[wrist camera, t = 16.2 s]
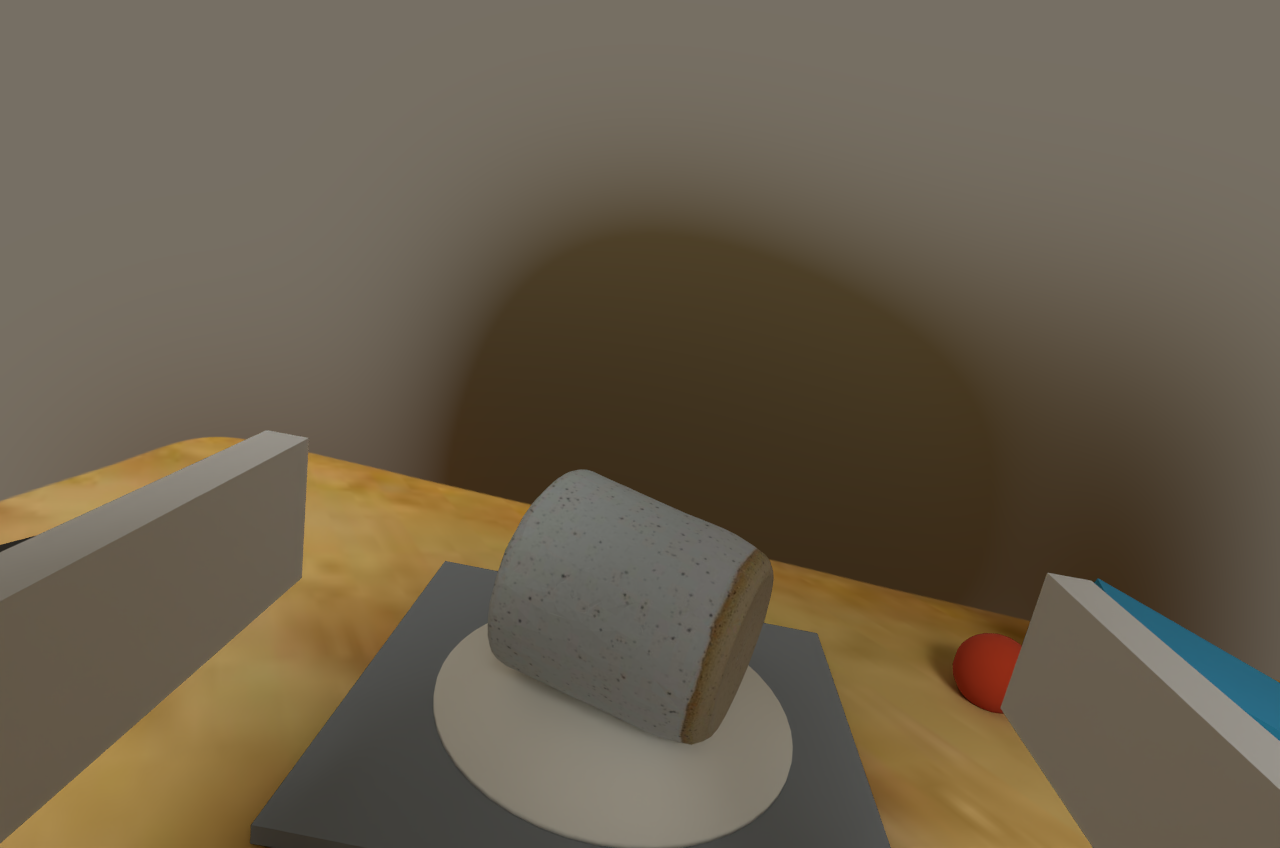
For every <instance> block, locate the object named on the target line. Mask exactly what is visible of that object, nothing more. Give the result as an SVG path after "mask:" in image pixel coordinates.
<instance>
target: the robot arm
mask: <svg viewBox="0 0 1280 848" xmlns="http://www.w3.org/2000/svg"><path fill="white" fill-rule="evenodd" d="M308 443H309V438H306V437H300V436H295V435H289V434H284V433H278V432H273V431H267V430H266V431H264V432H262V433H260V434H258V435H255V436H253V437H251V438H249V439H247V440H244V441H242V442H240V443H238V444H236V445H234V446H231V447H229V448H227V449H225V450H223V451H220V452H218V453H216V454H214V455H212V456H209V457H207V458H205V459H203V460H201V461H199V462H196V463H194V464H192V465H190V466H188V467H185V468H183V469H181V470H179V471H177V472H175V473H172V474H170V475H168V476H166V477H164V478H161V479H159V480H157V481H155V482H153V483H150V484H148V485H146V486H144V487H142V488H140V489H137V490H135V491H133V492H131V493H129V494H126V495H124V496H122V497H120V498H118V499H116V500H113V501H111V502H109V503H107V504H105V505H102V506H100V507H98V508H96V509H94V510H91V511H89V512H87V513H85V514H83V515H81V516H78V517H76V518H74V519H72V520H70V521H67V522H65V523H63V524H61V525H59V526H57V527H54V528H52V529H50V530H48V531H46V532H43V533H41V534H39V535H37V536H33V537H29V538H26V539H22V540H18V541H14V542H10V543H6V544H2V545H0V843H1V842H2V841H4V840H5V839H6V838H7V837H8V836H9V835H10V834H12V833H13V832H14V831H15V830H16V829H17V828H18V827H19V826H21V825H22V824H23V823H24V822H25V821H26V820H27V819H29V818H30V817H31V816H32V815H33V814H34V813H35V812H36V811H38V810H39V809H40V808H41V807H42V806H43V805H44V804H46V803H47V802H48V801H49V800H50V799H51V798H52V797H54V796H55V795H56V794H57V793H58V792H59V791H60V790H61V789H63V788H64V787H65V786H66V785H67V784H68V783H69V782H71V781H72V780H73V779H74V778H75V777H76V776H77V775H78V774H80V773H81V772H82V771H83V770H84V769H85V768H86V767H88V766H89V765H90V764H91V763H92V762H93V761H94V760H96V759H97V758H98V757H99V756H100V755H101V754H102V753H103V752H105V751H106V750H107V749H108V748H109V747H110V746H111V745H113V744H114V743H115V742H116V741H117V740H118V739H119V738H120V737H122V736H123V735H124V734H125V733H126V732H127V731H128V730H130V729H131V728H132V727H133V726H134V725H135V724H136V723H138V722H139V721H140V720H141V719H142V718H143V717H144V716H145V715H147V714H148V713H149V712H150V711H151V710H152V709H153V708H155V707H156V706H157V705H158V704H159V703H160V702H161V701H162V700H164V699H165V698H166V697H167V696H168V695H169V694H170V693H172V692H173V691H174V690H175V689H176V688H177V687H178V686H180V685H181V684H182V683H183V682H184V681H185V680H186V679H187V678H189V677H190V676H191V675H192V674H193V673H194V672H195V671H197V670H198V669H199V668H200V667H201V666H202V665H203V664H204V663H206V662H207V661H208V660H209V659H210V658H211V657H212V656H214V655H215V654H216V653H217V652H218V651H219V650H220V649H222V648H223V647H224V646H225V645H226V644H227V643H228V642H229V641H231V640H232V639H233V638H234V637H235V636H236V635H237V634H239V633H240V632H241V631H242V630H243V629H244V628H245V627H246V626H248V625H249V624H250V623H251V622H252V621H253V620H254V619H256V618H257V617H258V616H259V615H260V614H261V613H262V612H263V611H265V610H266V609H267V608H268V607H269V606H270V605H271V604H273V603H274V602H275V601H276V600H277V599H278V598H279V597H281V596H282V595H283V594H284V593H285V592H286V591H287V590H288V589H290V588H291V587H292V586H293V585H294V584H295V583H296V582H298V581H299V580H300V579H301V578H302V561H303V541H304V522H305V502H306V483H307V463H308ZM1001 710H1002V711H1003V713H1004V714H1005V716H1006V717H1007V719H1008V720H1009V722H1010V723H1011V725H1012V726H1013V728H1014V729H1015V731H1016V732H1017V734H1018V735H1019V737H1020V738H1021V740H1022V741H1023V743H1024V744H1025V746H1026V747H1027V749H1028V750H1029V752H1030V753H1031V755H1032V756H1033V758H1034V760H1035V761H1036V763H1037V764H1038V766H1039V767H1040V769H1041V770H1042V772H1043V773H1044V775H1045V776H1046V778H1047V779H1048V781H1049V782H1050V784H1051V785H1052V787H1053V788H1054V790H1055V791H1056V793H1057V794H1058V796H1059V797H1060V799H1061V800H1062V802H1063V803H1064V805H1065V806H1066V808H1067V809H1068V811H1069V812H1070V814H1071V815H1072V817H1073V818H1074V820H1075V821H1076V823H1077V824H1078V826H1079V827H1080V829H1081V830H1082V832H1083V833H1084V835H1085V836H1086V838H1087V839H1088V841H1089V842H1090V844H1091V845H1092V847H1093V848H1280V741H1279V740H1278V739H1277V738H1275V737H1274V736H1273V735H1272V734H1271V733H1270V732H1268V731H1267V730H1266V729H1265V728H1264V727H1263V726H1261V725H1260V724H1259V723H1258V722H1257V721H1256V720H1254V719H1253V718H1252V717H1251V716H1250V715H1248V714H1247V713H1246V712H1245V711H1244V710H1243V709H1241V708H1240V707H1239V706H1238V705H1237V704H1236V703H1234V702H1233V701H1232V700H1231V699H1230V698H1229V697H1227V696H1226V695H1225V694H1224V693H1223V692H1221V691H1220V690H1219V689H1218V688H1217V687H1216V686H1214V685H1213V684H1212V683H1211V682H1210V681H1209V680H1207V679H1206V678H1205V677H1204V676H1203V675H1201V674H1200V673H1199V672H1198V671H1197V670H1196V669H1194V668H1193V667H1192V666H1191V665H1190V664H1189V663H1187V662H1186V661H1185V660H1184V659H1183V658H1182V657H1180V656H1179V655H1178V654H1177V653H1176V652H1174V651H1173V650H1172V649H1171V648H1170V647H1169V646H1167V645H1166V644H1165V643H1164V642H1163V641H1162V640H1160V639H1159V638H1158V637H1157V636H1156V635H1154V634H1153V633H1152V632H1151V631H1150V630H1149V629H1147V628H1146V627H1145V626H1144V625H1143V624H1142V623H1140V622H1139V621H1138V620H1137V619H1136V618H1135V617H1133V616H1132V615H1131V614H1130V613H1129V612H1127V611H1126V610H1125V609H1124V608H1123V607H1122V606H1120V605H1119V604H1118V603H1117V602H1116V601H1115V600H1113V599H1112V598H1111V597H1110V596H1109V595H1108V594H1106V593H1105V592H1104V591H1103V590H1102V589H1100V588H1099V587H1098V586H1097V585H1096V584H1095V583H1093V582H1092V581H1090V580H1084V579H1079V578H1073V577H1068V576H1063V575H1057V574H1052V573H1047V575H1046V578H1045V581H1044V584H1043V587H1042V590H1041V593H1040V595H1039V598H1038V601H1037V604H1036V607H1035V610H1034V613H1033V616H1032V619H1031V621H1030V624H1029V627H1028V630H1027V633H1026V636H1025V639H1024V641H1023V644H1022V647H1021V650H1020V653H1019V656H1018V659H1017V662H1016V664H1015V667H1014V670H1013V673H1012V676H1011V679H1010V682H1009V685H1008V688H1007V690H1006V693H1005V696H1004V699H1003V702H1002V705H1001Z"/></svg>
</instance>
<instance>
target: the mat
mask: <svg viewBox="0 0 1280 848" xmlns="http://www.w3.org/2000/svg"><path fill="white" fill-rule="evenodd" d="M497 573H498V571H494V570H489V569H483V568H478V567H473V566H468V565H463V564H458V563H453V562H447V561H445V562H444V563H443V565H442V566H441V568H440V569H439V570H438V572H437V573H436V574H435V576H434V577H433V578H432V580H431V581H430V582H429V584H428V585H427V587H426V588H425V589H424V591H423V592H422V593H421V595H420V596H419V597H418V599H417V600H416V601H415V603H414V604H413V606H412V607H411V608H410V610H409V611H408V612H407V614H406V615H405V616H404V618H403V619H402V621H401V622H400V623H399V625H398V626H397V627H396V629H395V630H394V631H393V633H392V634H391V635H390V637H389V638H388V640H387V641H386V642H385V644H384V645H383V646H382V648H381V649H380V650H379V652H378V653H377V655H376V656H375V657H374V659H373V660H372V661H371V663H370V664H369V665H368V667H367V668H366V669H365V671H364V672H363V674H362V675H361V676H360V678H359V679H358V680H357V682H356V683H355V684H354V686H353V687H352V688H351V690H350V691H349V693H348V694H347V695H346V697H345V698H344V699H343V701H342V702H341V703H340V705H339V706H338V708H337V709H336V710H335V712H334V713H333V714H332V716H331V717H330V718H329V720H328V721H327V722H326V724H325V725H324V727H323V728H322V729H321V731H320V732H319V733H318V735H317V736H316V737H315V739H314V740H313V742H312V743H311V744H310V746H309V747H308V748H307V750H306V751H305V752H304V754H303V755H302V756H301V758H300V759H299V761H298V762H297V763H296V765H295V766H294V767H293V769H292V770H291V771H290V773H289V774H288V775H287V777H286V778H285V780H284V781H283V782H282V784H281V785H280V786H279V788H278V789H277V790H276V792H275V793H274V795H273V796H272V797H271V799H270V800H269V801H268V803H267V804H266V805H265V807H264V808H263V809H262V811H261V812H260V814H259V815H258V816H257V818H256V819H255V820H254V822H253V823H252V824H251V837H250V843H251V844H256V845H261V846H266V847H271V848H891V847H890V844H889V841H888V838H887V836H886V833H885V830H884V827H883V824H882V821H881V818H880V815H879V812H878V809H877V806H876V803H875V801H874V798H873V795H872V792H871V789H870V786H869V783H868V780H867V777H866V774H865V771H864V768H863V766H862V763H861V760H860V757H859V754H858V751H857V748H856V745H855V742H854V739H853V736H852V734H851V731H850V728H849V725H848V722H847V719H846V716H845V713H844V710H843V707H842V704H841V701H840V699H839V696H838V693H837V690H836V687H835V684H834V681H833V678H832V675H831V672H830V669H829V666H828V664H827V661H826V658H825V655H824V652H823V649H822V646H821V643H820V640H819V637H818V634H817V633H813V632H807V631H802V630H797V629H792V628H787V627H782V626H777V625H771V624H766V623H763V626H762V629H761V632H760V635H759V638H758V641H757V643H756V646H755V649H754V652H753V654H752V657H751V660H750V662H749V665H748V668H747V670H746V672H745V675H744V677H743V679H742V682H741V684H740V687H739V689H738V691H737V693H736V695H735V697H734V700H733V702H732V704H731V706H730V708H729V710H728V712H727V714H726V716H725V718H724V719H723V721H722V723H721V724H720V726H719V728H718V729H717V730H716V732H715V733H714V734H713V735H712V736H711V737H710V738H708V739H706V740H704V741H703V742H699V743H696V744H692V745H690V744H685V743H679V742H675V741H672V740H668V739H665V738H661V737H658V736H655V735H653V734H650V733H648V732H645V731H643V730H641V729H639V728H637V727H635V726H633V725H631V724H629V723H627V722H625V721H623V720H621V719H619V718H617V717H615V716H612V715H610V714H608V713H606V712H604V711H602V710H600V709H598V708H596V707H594V706H592V705H589V704H587V703H585V702H583V701H580V700H578V699H576V698H574V697H571V696H569V695H567V694H565V693H563V692H561V691H559V690H557V689H555V688H553V687H550V686H548V685H546V684H544V683H542V682H540V681H538V680H536V679H534V678H532V677H530V676H528V675H525V674H523V673H521V672H519V671H517V670H514V669H512V668H510V667H508V666H506V665H504V664H503V663H502V662H501V661H499V660H498V659H497V658H496V657H495V656H494V654H493V653H492V651H491V648H490V644H489V640H488V612H489V603H490V599H491V595H492V592H493V588H494V584H495V580H496V576H497Z"/></svg>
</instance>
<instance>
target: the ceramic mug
mask: <svg viewBox="0 0 1280 848" xmlns="http://www.w3.org/2000/svg"><path fill="white" fill-rule="evenodd" d="M772 586H773V570H772V566H771V563H770V561H769V559H768V558H767V557H766V555H765V554H763V553H762V552H761V551H760V550H758V549H757V548H756V547H754V546H753V545H751V544H750V543H748V542H747V541H745V540H744V539H742V538H741V537H739V536H737V535H736V534H733V533H732V532H729V531H727V530H725V529H723V528H721V527H718V526H716V525H713V524H711V523H709V522H706V521H704V520H701V519H698V518H696V517H694V516H691V515H689V514H686V513H684V512H682V511H679V510H677V509H675V508H673V507H670V506H668V505H666V504H663V503H661V502H659V501H657V500H654V499H652V498H650V497H647V496H645V495H643V494H641V493H639V492H637V491H634V490H632V489H630V488H628V487H626V486H623V485H621V484H619V483H617V482H614V481H612V480H610V479H608V478H605V477H603V476H601V475H599V474H597V473H595V472H592V471H589V470H576V471H571V472H569V473H566V474H565V475H563V476H562V477H560V478H558V479H557V480H556V481H555V482H553V483H552V484H551V485H550V486H549V487H548V488H547V489H546V490H545V491H544V492H543V493H542V494H541V495H540V496H539V497H538V498H537V499H536V500H535V501H534V502H533V504H532V505H531V506H530V508H529V509H528V511H527V512H526V514H525V515H524V517H523V518H522V520H521V522H520V524H519V526H518V528H517V530H516V532H515V533H514V535H513V537H512V538H511V540H510V542H509V544H508V546H507V548H506V550H505V553H504V556H503V559H502V562H501V565H500V568H499V571H498V573H497V576H496V580H495V584H494V588H493V592H492V595H491V599H490V603H489V612H488V640H489V644H490V648H491V651H492V653H493V654H494V656H495V657H496V658H497V659H498V660H499V661H501V662H502V663H503V664H504V665H506V666H508V667H510V668H512V669H514V670H517V671H519V672H521V673H523V674H525V675H528V676H530V677H532V678H534V679H536V680H538V681H540V682H542V683H544V684H546V685H548V686H550V687H553V688H555V689H557V690H559V691H561V692H563V693H565V694H567V695H569V696H571V697H574V698H576V699H578V700H580V701H583V702H585V703H587V704H589V705H592V706H594V707H596V708H598V709H600V710H602V711H604V712H606V713H608V714H610V715H612V716H615V717H617V718H619V719H621V720H623V721H625V722H627V723H629V724H631V725H633V726H635V727H637V728H639V729H641V730H643V731H645V732H648V733H650V734H653V735H655V736H658V737H661V738H665V739H668V740H672V741H675V742H679V743H685V744H690V745H692V744H696V743H699V742H703V741H704V740H706V739H708V738H710V737H711V736H712V735H713V734H714V733H715V732H716V730H717V729H718V728H719V726H720V724H721V723H722V721H723V719H724V718H725V716H726V714H727V712H728V710H729V708H730V706H731V704H732V702H733V700H734V697H735V695H736V693H737V691H738V689H739V687H740V684H741V682H742V679H743V677H744V675H745V672H746V670H747V668H748V665H749V662H750V660H751V657H752V654H753V652H754V649H755V646H756V643H757V641H758V638H759V635H760V632H761V629H762V626H763V623H764V620H765V616H766V613H767V609H768V605H769V601H770V597H771V592H772Z"/></svg>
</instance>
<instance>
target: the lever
mask: <svg viewBox="0 0 1280 848" xmlns="http://www.w3.org/2000/svg"><path fill="white" fill-rule="evenodd" d="M1094 583H1095V584H1096V585H1097V586H1098V587H1099V588H1100V589H1102V590H1103V591H1104V592H1105V593H1106V594H1108V595H1109V596H1110V597H1111V598H1112V599H1113V600H1115V601H1116V602H1117V603H1118V604H1119V605H1120V606H1122V607H1123V608H1124V609H1125V610H1126V611H1127V612H1129V613H1130V614H1131V615H1132V616H1133V617H1135V618H1136V619H1137V620H1138V621H1139V622H1140V623H1142V624H1143V625H1144V626H1145V627H1146V628H1147V629H1149V630H1150V631H1151V632H1152V633H1153V634H1154V635H1156V636H1157V637H1158V638H1159V639H1160V640H1162V641H1163V642H1164V643H1165V644H1166V645H1167V646H1169V647H1170V648H1171V649H1172V650H1173V651H1174V652H1176V653H1177V654H1178V655H1179V656H1180V657H1182V658H1183V659H1184V660H1185V661H1186V662H1187V663H1189V664H1190V665H1191V666H1192V667H1193V668H1194V669H1196V670H1197V671H1198V672H1199V673H1200V674H1201V675H1203V676H1204V677H1205V678H1206V679H1207V680H1209V681H1210V682H1211V683H1212V684H1213V685H1214V686H1216V687H1217V688H1218V689H1219V690H1220V691H1221V692H1223V693H1224V694H1225V695H1226V696H1227V697H1229V698H1230V699H1231V700H1232V701H1233V702H1234V703H1236V704H1237V705H1238V706H1239V707H1240V708H1241V709H1243V710H1244V711H1245V712H1246V713H1247V714H1248V715H1250V716H1251V717H1252V718H1253V719H1254V720H1256V721H1257V722H1258V723H1259V724H1260V725H1261V726H1263V727H1264V728H1265V729H1266V730H1267V731H1268V732H1270V733H1271V734H1272V735H1273V736H1274V737H1275V738H1277V739H1278V740H1279V741H1280V683H1279V682H1277V681H1275V680H1274V679H1272V678H1270V677H1269V676H1267V675H1265V674H1263V673H1262V672H1260V671H1258V670H1256V669H1255V668H1253V667H1251V666H1249V665H1248V664H1246V663H1244V662H1242V661H1241V660H1239V659H1237V658H1236V657H1234V656H1232V655H1230V654H1228V653H1227V652H1225V651H1223V650H1221V649H1220V648H1218V647H1216V646H1215V645H1213V644H1211V643H1209V642H1207V641H1206V640H1204V639H1202V638H1201V637H1199V636H1197V635H1196V634H1194V633H1192V632H1190V631H1188V630H1187V629H1185V628H1183V627H1181V626H1180V625H1178V624H1176V623H1175V622H1173V621H1171V620H1169V619H1168V618H1166V617H1164V616H1163V615H1161V614H1159V613H1157V612H1156V611H1154V610H1152V609H1150V608H1149V607H1147V606H1145V605H1143V604H1142V603H1140V602H1138V601H1136V600H1135V599H1133V598H1131V597H1129V596H1128V595H1126V594H1124V593H1123V592H1121V591H1119V590H1117V589H1115V588H1114V587H1112V586H1110V585H1109V584H1107V583H1105V582H1103V581H1102V580H1100V579H1097V580H1096V581H1095V582H1094ZM1021 647H1022V646H1021V645H1020V644H1019V643H1017V642H1016V641H1014V640H1013V639H1011V638H1009V637H1006V636H1003V635H1000V634H992V633H984V634H978V635H975V636H972V637H970V638H969V639H967V640H966V641H964V642H963V643H962V644H961V645H960V647H959V648H958V649H957V652H956V655H955V658H954V661H953V675H954V678H955V681H956V683H957V686H958V689H959V690H960V692H961V693H962V694H963V695H964V696H965V697H966V698H967V699H968V700H969V701H970V702H971V703H973V704H974V705H976V706H978V707H980V708H982V709H985V710H987V711H990V712H994V713H1003V711H1002V710H1001V705H1002V702H1003V699H1004V696H1005V693H1006V690H1007V688H1008V685H1009V682H1010V679H1011V676H1012V673H1013V670H1014V667H1015V664H1016V662H1017V659H1018V656H1019V653H1020V650H1021Z"/></svg>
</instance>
